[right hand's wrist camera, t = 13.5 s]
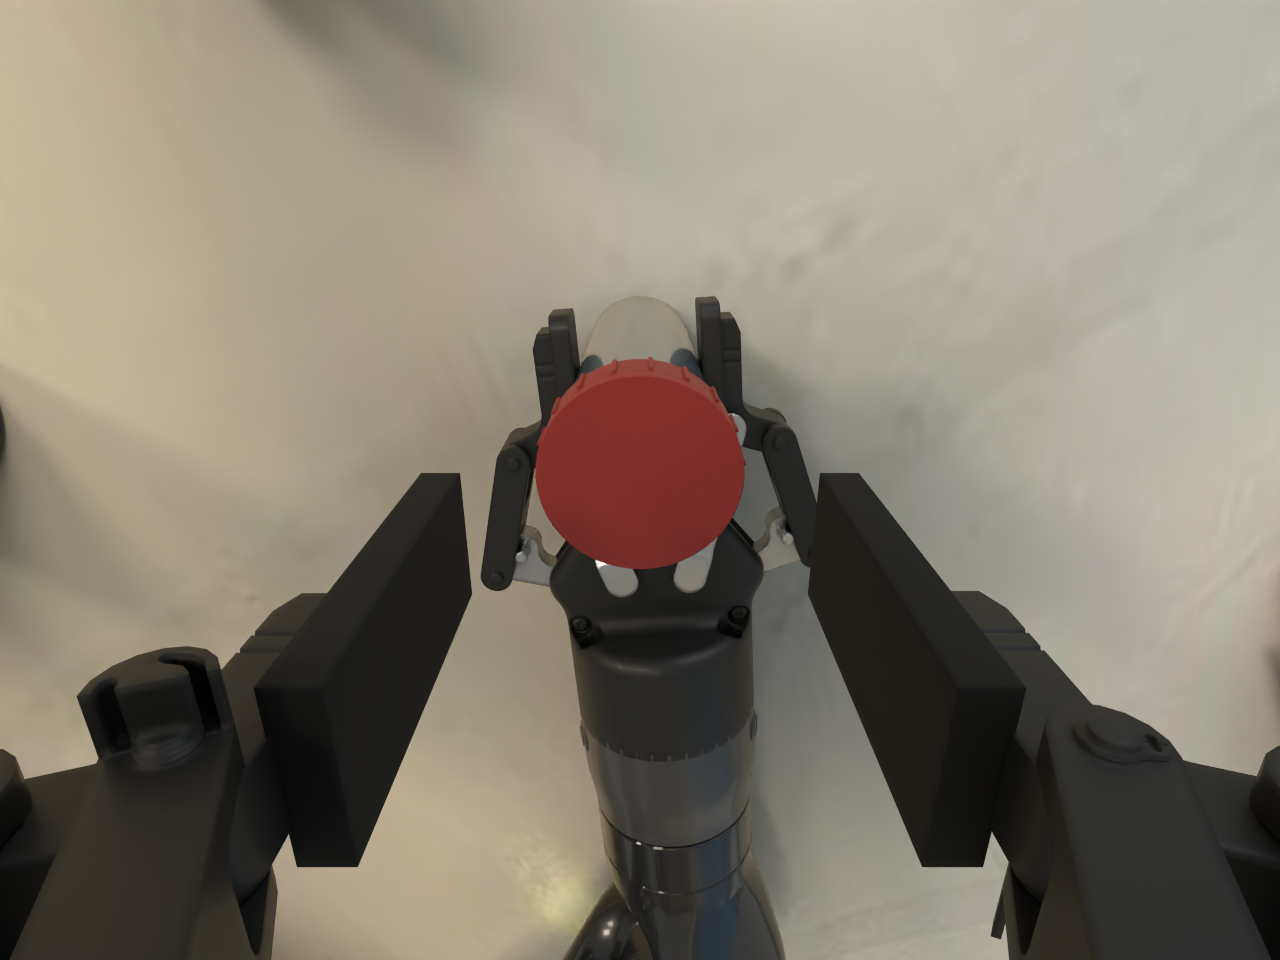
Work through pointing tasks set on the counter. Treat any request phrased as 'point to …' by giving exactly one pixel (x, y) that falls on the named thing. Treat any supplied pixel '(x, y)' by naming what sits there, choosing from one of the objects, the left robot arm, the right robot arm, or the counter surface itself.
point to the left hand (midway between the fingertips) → (634, 308)
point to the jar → (640, 336)
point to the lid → (640, 464)
